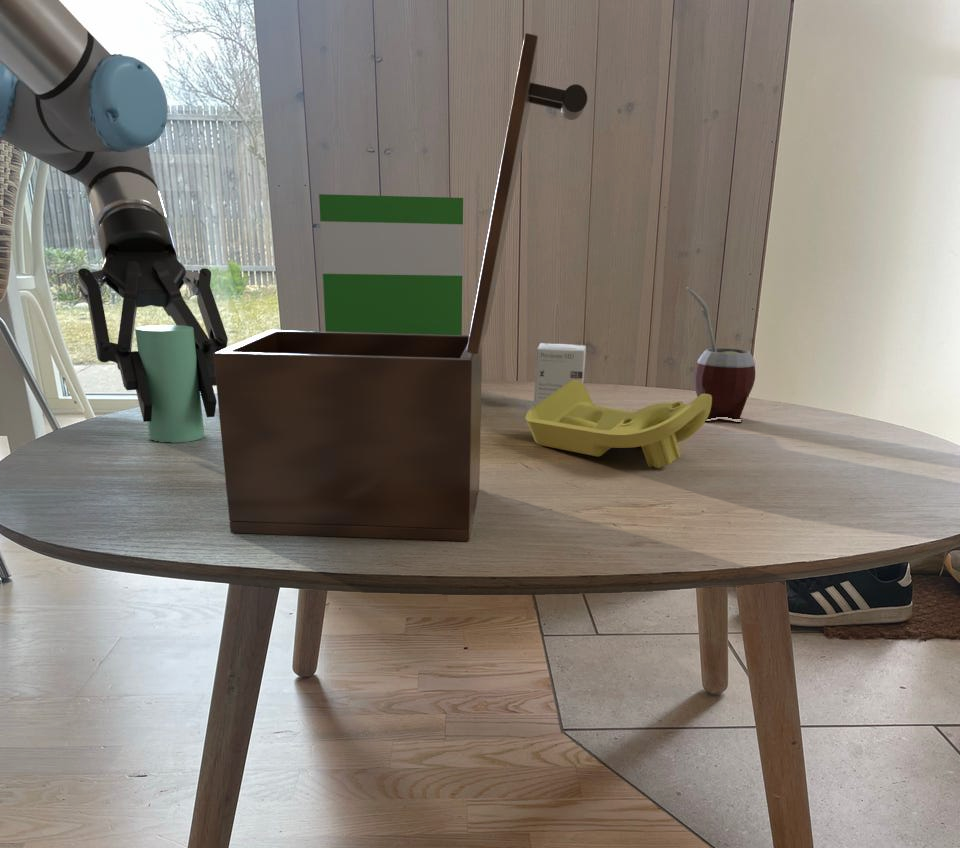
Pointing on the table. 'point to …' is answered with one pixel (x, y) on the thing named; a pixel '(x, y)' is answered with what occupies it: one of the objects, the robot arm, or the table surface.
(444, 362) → the chest
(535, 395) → the product carton
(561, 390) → the plastic component
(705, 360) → the mate gourd
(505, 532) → the table surface
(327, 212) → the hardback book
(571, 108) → the lid
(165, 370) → the green cylinder
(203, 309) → the robot arm
